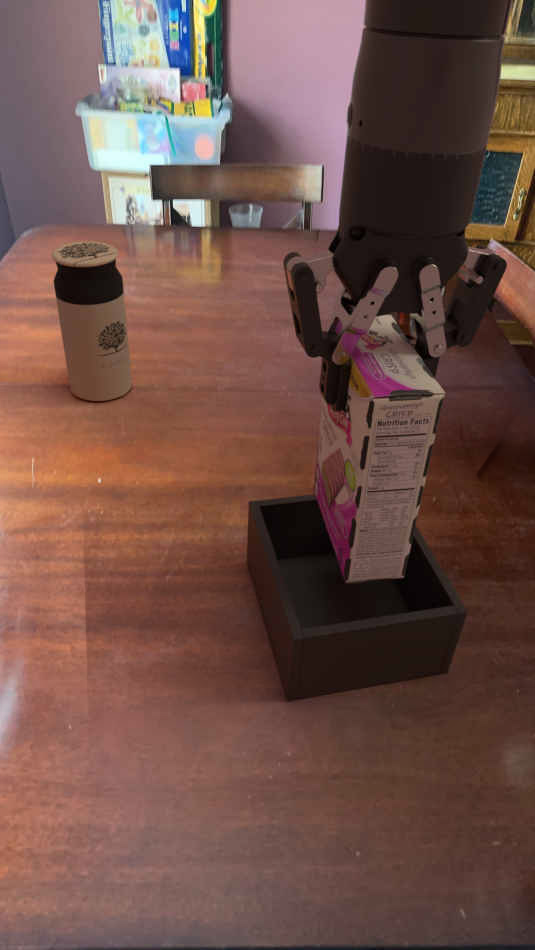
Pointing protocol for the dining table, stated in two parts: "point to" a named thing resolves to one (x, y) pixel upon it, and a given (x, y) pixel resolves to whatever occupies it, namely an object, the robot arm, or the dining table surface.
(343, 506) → the candy bar box
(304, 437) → the dining table surface
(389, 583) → the basket
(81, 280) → the travel mug
